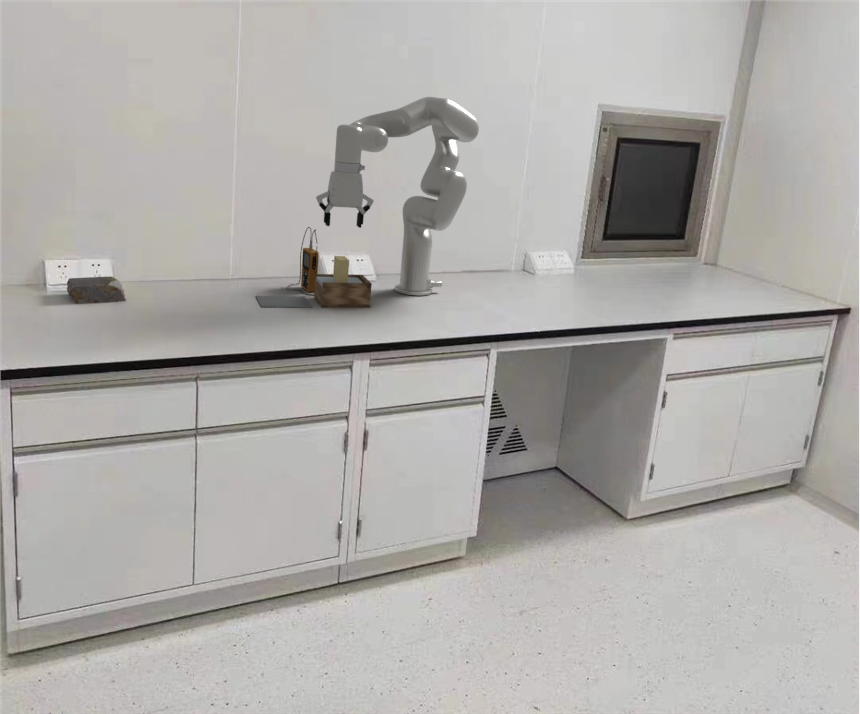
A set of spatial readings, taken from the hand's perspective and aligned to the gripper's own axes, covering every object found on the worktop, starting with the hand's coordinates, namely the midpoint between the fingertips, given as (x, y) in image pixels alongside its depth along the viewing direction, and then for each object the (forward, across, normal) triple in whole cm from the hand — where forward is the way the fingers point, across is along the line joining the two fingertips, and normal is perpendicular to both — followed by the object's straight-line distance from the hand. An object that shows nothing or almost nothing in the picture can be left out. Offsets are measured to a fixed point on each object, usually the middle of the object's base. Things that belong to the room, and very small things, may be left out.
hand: (343, 226), depth 258 cm
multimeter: (+24, +10, -15) cm, 30 cm away
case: (+24, -1, 0) cm, 24 cm away
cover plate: (+18, 0, 0) cm, 18 cm away
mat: (+24, +17, 0) cm, 29 cm away
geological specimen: (+25, +70, -4) cm, 74 cm away
